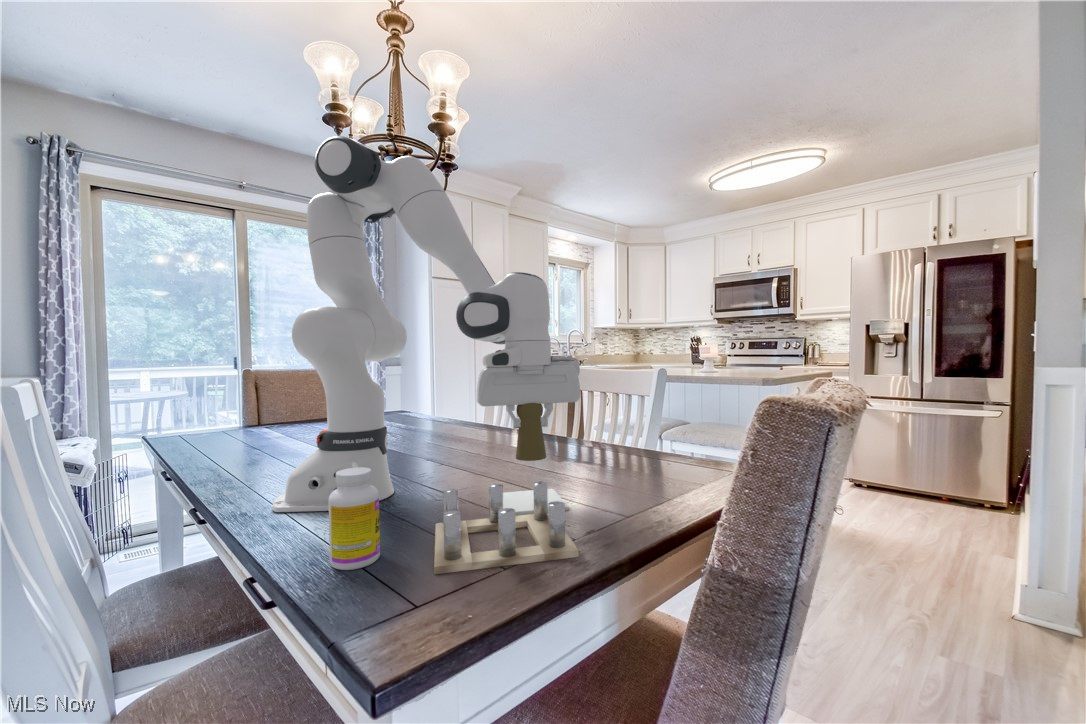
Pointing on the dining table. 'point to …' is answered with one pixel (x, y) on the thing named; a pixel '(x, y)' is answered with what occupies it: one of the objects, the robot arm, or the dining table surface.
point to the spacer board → (493, 558)
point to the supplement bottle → (354, 520)
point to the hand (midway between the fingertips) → (530, 427)
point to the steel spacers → (503, 520)
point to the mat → (527, 501)
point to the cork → (530, 433)
